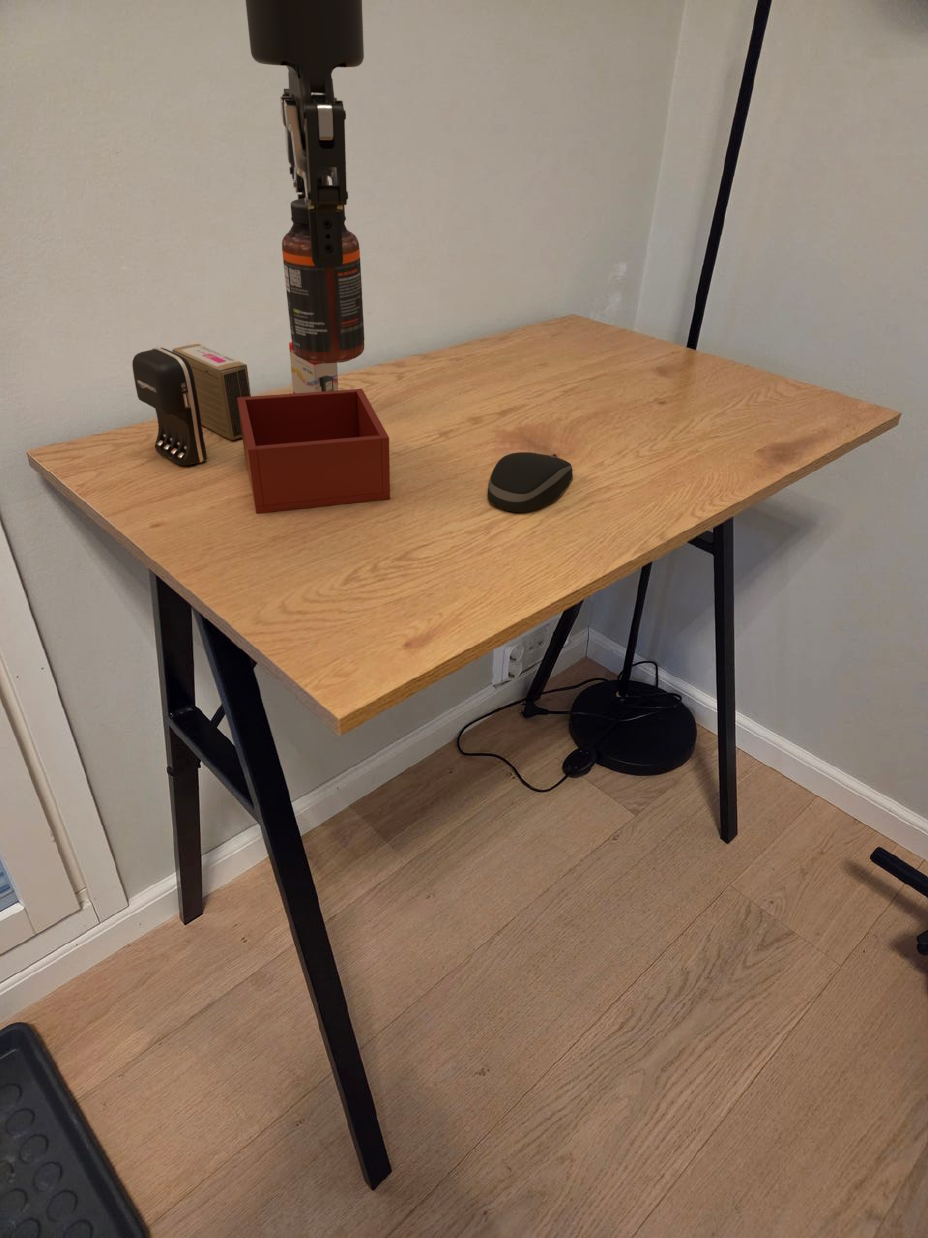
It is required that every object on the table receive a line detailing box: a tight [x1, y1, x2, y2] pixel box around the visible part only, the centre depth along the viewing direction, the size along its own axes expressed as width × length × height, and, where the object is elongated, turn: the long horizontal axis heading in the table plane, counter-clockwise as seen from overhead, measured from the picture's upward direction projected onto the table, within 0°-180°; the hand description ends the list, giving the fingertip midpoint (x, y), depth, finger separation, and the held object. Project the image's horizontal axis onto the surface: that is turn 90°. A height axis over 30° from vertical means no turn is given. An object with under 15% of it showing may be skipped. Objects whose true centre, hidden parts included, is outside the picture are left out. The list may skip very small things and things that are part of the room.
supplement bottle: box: [281, 198, 365, 364], centre depth 62 cm, size 6×6×11 cm
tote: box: [237, 388, 391, 514], centre depth 83 cm, size 14×14×7 cm
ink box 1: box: [171, 343, 252, 441], centre depth 92 cm, size 10×4×8 cm, turn 46°
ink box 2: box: [288, 341, 339, 394], centre depth 97 cm, size 6×3×10 cm, turn 40°
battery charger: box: [131, 347, 208, 467], centre depth 84 cm, size 7×4×11 cm, turn 47°
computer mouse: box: [487, 451, 574, 513], centre depth 84 cm, size 7×12×4 cm, turn 146°
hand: (321, 255), depth 61 cm, fingers closed on supplement bottle, 6 cm apart
